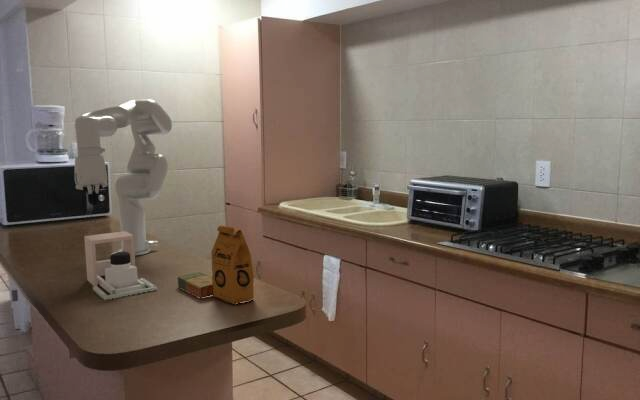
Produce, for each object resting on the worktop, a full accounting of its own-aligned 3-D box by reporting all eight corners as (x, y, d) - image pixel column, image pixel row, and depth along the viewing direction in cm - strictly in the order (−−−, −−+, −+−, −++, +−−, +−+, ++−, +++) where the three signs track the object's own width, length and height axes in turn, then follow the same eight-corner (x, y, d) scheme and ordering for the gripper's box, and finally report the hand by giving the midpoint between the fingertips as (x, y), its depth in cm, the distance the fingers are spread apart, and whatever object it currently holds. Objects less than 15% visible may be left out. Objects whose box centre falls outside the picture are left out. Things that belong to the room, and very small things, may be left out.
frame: (143, 280, 189) (143, 277, 189) (157, 290, 178) (157, 287, 178) (92, 289, 179) (92, 286, 179) (104, 300, 169) (104, 296, 169)
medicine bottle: (138, 288, 182) (136, 251, 180) (120, 293, 176) (117, 256, 174) (124, 284, 186) (122, 249, 184) (105, 290, 180) (103, 253, 178)
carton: (200, 300, 169) (199, 287, 168) (177, 288, 181) (176, 275, 181) (224, 295, 174) (224, 281, 173) (201, 283, 186) (200, 271, 186)
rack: (119, 271, 199) (119, 258, 199) (145, 289, 179) (144, 274, 178) (89, 276, 193) (88, 262, 193) (112, 295, 173) (111, 279, 172)
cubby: (127, 273, 198) (125, 231, 195) (136, 279, 190) (133, 235, 188) (87, 280, 190) (84, 236, 188) (94, 286, 183) (91, 240, 180)
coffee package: (230, 308, 161) (227, 232, 157) (208, 298, 170) (206, 226, 167) (259, 301, 167) (257, 228, 164) (237, 291, 176) (235, 222, 173)
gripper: (107, 150, 204) (111, 200, 207) (63, 153, 195) (68, 205, 198) (114, 151, 198) (118, 203, 201) (69, 154, 189) (74, 208, 192)
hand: (93, 204), depth 199 cm, fingers closed
